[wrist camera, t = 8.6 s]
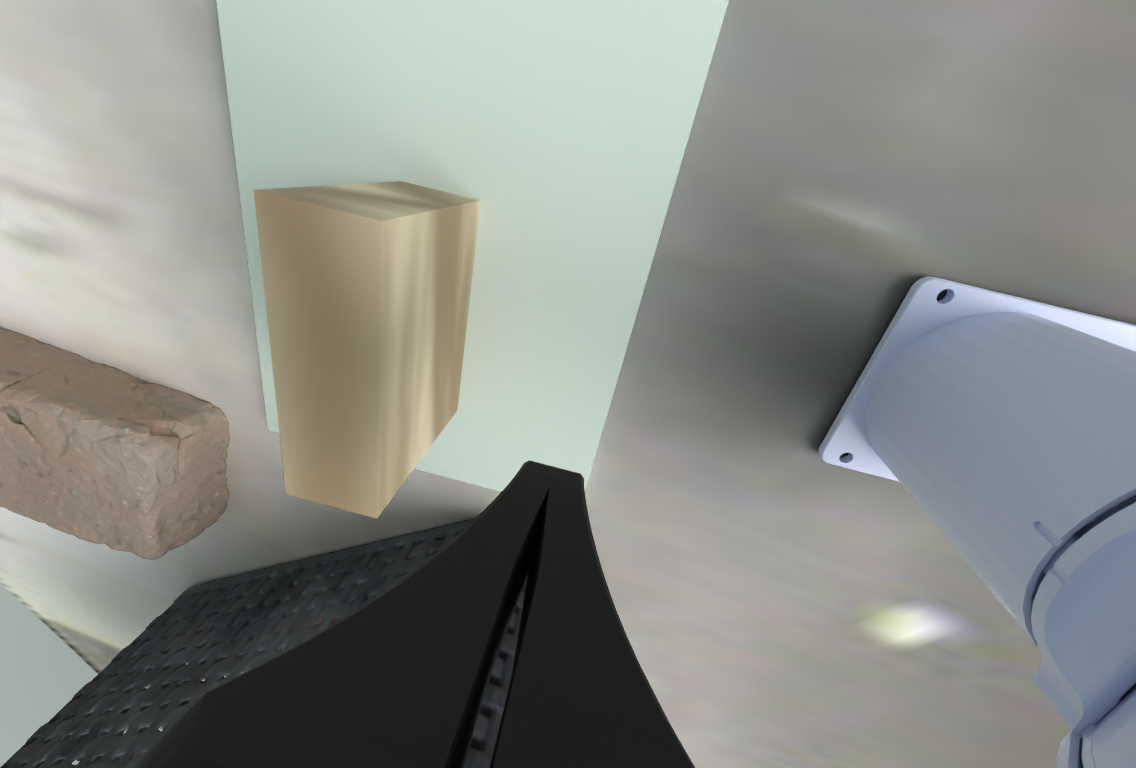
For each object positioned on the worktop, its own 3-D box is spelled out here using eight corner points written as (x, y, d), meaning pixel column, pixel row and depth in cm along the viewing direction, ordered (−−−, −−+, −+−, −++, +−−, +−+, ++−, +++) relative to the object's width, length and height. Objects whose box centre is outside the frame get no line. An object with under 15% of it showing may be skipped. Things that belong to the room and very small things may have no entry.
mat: (726, 1, 13) (730, -6, 13) (580, 503, 22) (578, 512, 22) (218, -112, 14) (201, -124, 13) (276, 424, 23) (267, 430, 22)
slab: (480, 200, 16) (382, 221, 10) (457, 410, 20) (376, 518, 14) (401, 181, 16) (253, 190, 10) (394, 393, 20) (285, 494, 14)
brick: (231, 401, 23) (140, 453, 19) (234, 515, 27) (159, 579, 23) (-78, 287, 23) (-240, 313, 19) (-31, 418, 27) (-157, 465, 22)
